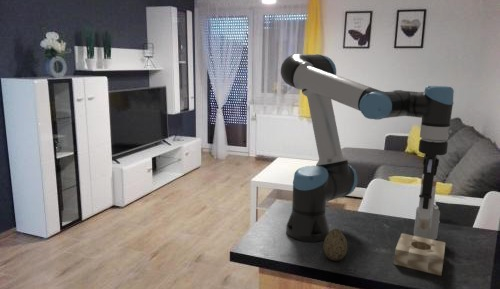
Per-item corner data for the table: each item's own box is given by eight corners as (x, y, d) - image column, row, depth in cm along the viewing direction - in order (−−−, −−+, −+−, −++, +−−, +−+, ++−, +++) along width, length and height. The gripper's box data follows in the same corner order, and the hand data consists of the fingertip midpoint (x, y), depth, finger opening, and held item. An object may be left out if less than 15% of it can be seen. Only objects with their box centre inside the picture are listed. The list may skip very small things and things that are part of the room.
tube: (415, 227, 117) (421, 176, 114) (417, 223, 121) (422, 173, 118) (430, 230, 115) (436, 178, 112) (431, 225, 119) (437, 175, 116)
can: (439, 243, 132) (443, 210, 130) (415, 241, 134) (419, 208, 131) (433, 234, 140) (437, 202, 137) (411, 232, 141) (415, 200, 139)
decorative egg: (346, 266, 116) (348, 235, 114) (322, 263, 117) (323, 232, 115) (346, 255, 122) (348, 225, 120) (323, 252, 124) (324, 223, 122)
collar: (393, 264, 118) (395, 248, 117) (400, 247, 129) (401, 233, 128) (441, 275, 112) (443, 259, 111) (443, 257, 123) (445, 242, 122)
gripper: (446, 146, 104) (436, 228, 108) (449, 136, 118) (440, 209, 123) (416, 143, 107) (408, 222, 112) (422, 134, 122) (414, 205, 126)
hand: (424, 215), depth 117 cm, fingers closed on tube, 4 cm apart
